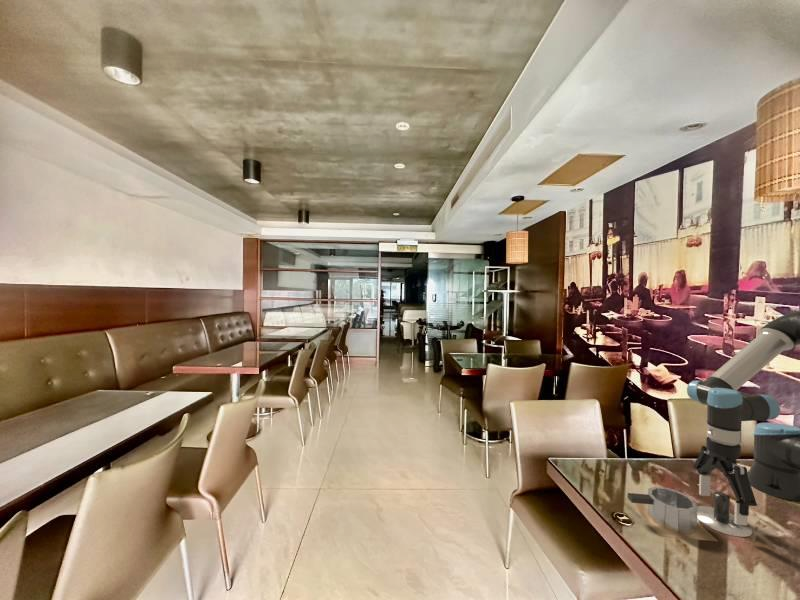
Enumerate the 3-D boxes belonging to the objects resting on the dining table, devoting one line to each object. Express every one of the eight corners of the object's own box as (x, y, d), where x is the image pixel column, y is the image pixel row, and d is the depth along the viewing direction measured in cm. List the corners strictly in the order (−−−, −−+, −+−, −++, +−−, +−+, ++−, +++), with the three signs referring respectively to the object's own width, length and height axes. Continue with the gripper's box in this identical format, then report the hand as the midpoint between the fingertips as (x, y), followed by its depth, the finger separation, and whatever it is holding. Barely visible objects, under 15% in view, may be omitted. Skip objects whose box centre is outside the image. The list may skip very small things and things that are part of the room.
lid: (727, 511, 107) (728, 484, 107) (765, 541, 94) (766, 510, 94) (682, 507, 109) (683, 481, 109) (713, 536, 96) (714, 506, 96)
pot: (679, 509, 107) (679, 488, 106) (706, 536, 95) (707, 512, 95) (620, 504, 109) (620, 483, 109) (639, 529, 98) (640, 506, 98)
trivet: (681, 508, 108) (681, 506, 108) (718, 543, 93) (718, 541, 93) (631, 504, 110) (631, 502, 110) (659, 537, 95) (659, 535, 95)
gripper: (681, 423, 114) (679, 483, 114) (745, 460, 89) (742, 537, 90) (705, 424, 112) (704, 485, 113) (777, 462, 88) (775, 540, 88)
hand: (721, 508), depth 101 cm, fingers open, 13 cm apart
